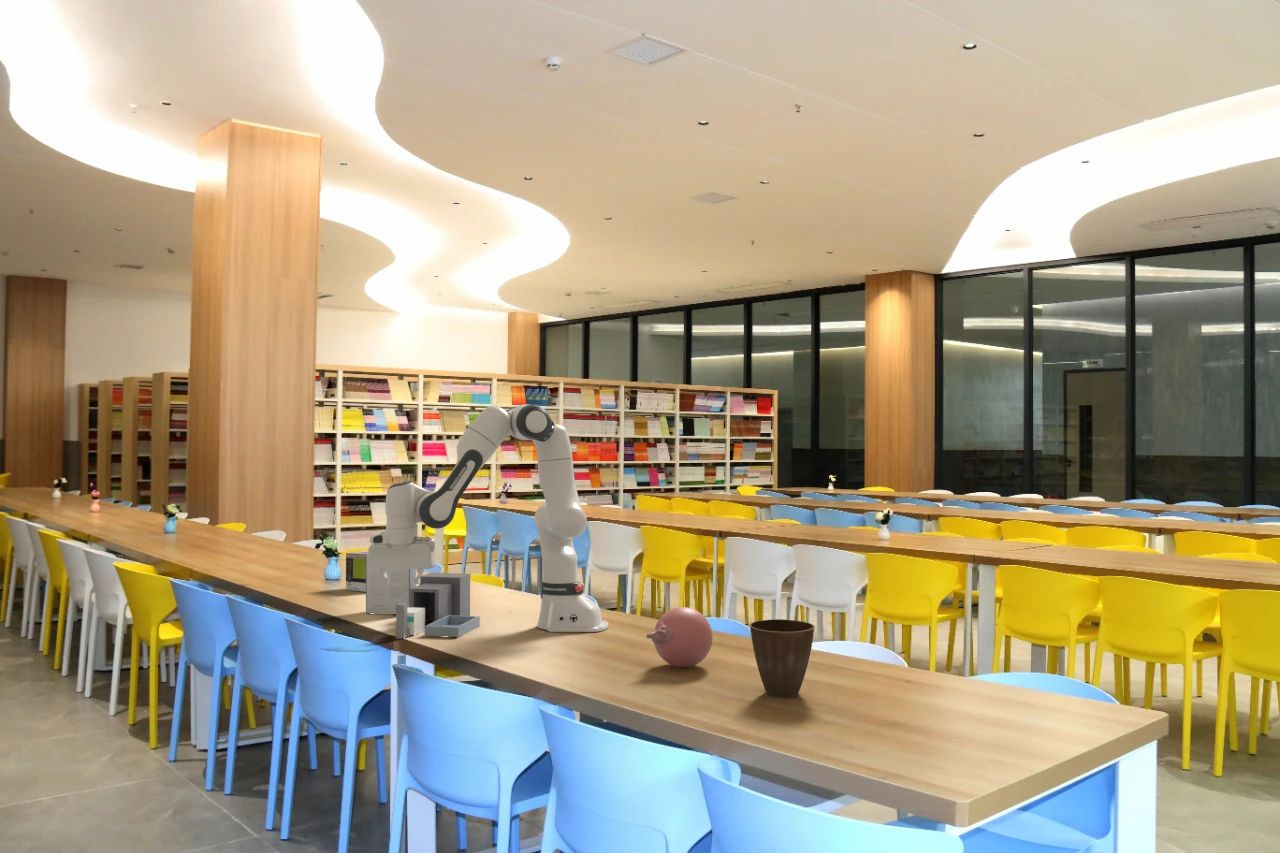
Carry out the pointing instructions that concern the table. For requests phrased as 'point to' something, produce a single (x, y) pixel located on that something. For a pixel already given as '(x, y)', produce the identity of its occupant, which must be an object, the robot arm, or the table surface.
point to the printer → (442, 595)
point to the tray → (452, 626)
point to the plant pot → (782, 654)
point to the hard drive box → (388, 589)
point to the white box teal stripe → (409, 620)
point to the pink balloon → (682, 637)
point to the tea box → (356, 571)
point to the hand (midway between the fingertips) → (401, 583)
